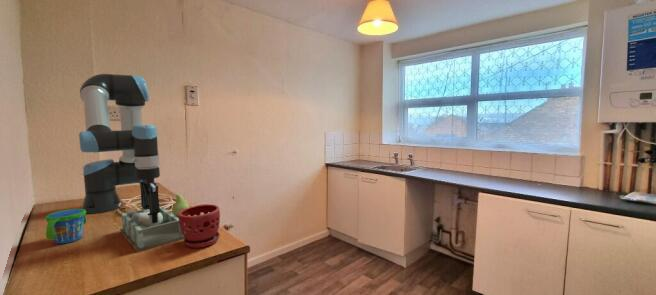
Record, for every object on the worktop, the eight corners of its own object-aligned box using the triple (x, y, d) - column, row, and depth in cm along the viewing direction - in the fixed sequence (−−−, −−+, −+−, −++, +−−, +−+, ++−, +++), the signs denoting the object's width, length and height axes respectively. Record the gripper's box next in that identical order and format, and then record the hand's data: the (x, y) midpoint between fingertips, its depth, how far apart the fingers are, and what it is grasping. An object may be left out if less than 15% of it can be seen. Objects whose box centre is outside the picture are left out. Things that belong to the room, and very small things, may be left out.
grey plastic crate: (120, 231, 112) (118, 214, 111) (163, 221, 123) (162, 205, 122) (137, 252, 94) (135, 231, 94) (185, 238, 105) (184, 219, 104)
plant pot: (203, 232, 111) (202, 202, 109) (228, 239, 105) (227, 206, 103) (171, 246, 99) (169, 212, 98) (197, 254, 93) (195, 218, 92)
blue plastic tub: (73, 231, 112) (70, 206, 111) (100, 231, 112) (98, 206, 111) (32, 250, 97) (29, 220, 96) (64, 249, 97) (61, 220, 96)
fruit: (191, 216, 128) (189, 190, 127) (172, 220, 124) (170, 193, 123) (188, 212, 134) (187, 187, 133) (170, 216, 130) (168, 189, 128)
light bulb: (137, 206, 102) (168, 212, 110) (130, 206, 106) (161, 212, 114) (130, 225, 100) (162, 230, 107) (123, 224, 104) (155, 229, 111)
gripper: (128, 165, 110) (133, 224, 112) (142, 171, 96) (147, 238, 99) (151, 163, 115) (155, 219, 118) (167, 169, 102) (171, 232, 104)
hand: (151, 228), depth 108 cm, fingers closed on light bulb, 6 cm apart
